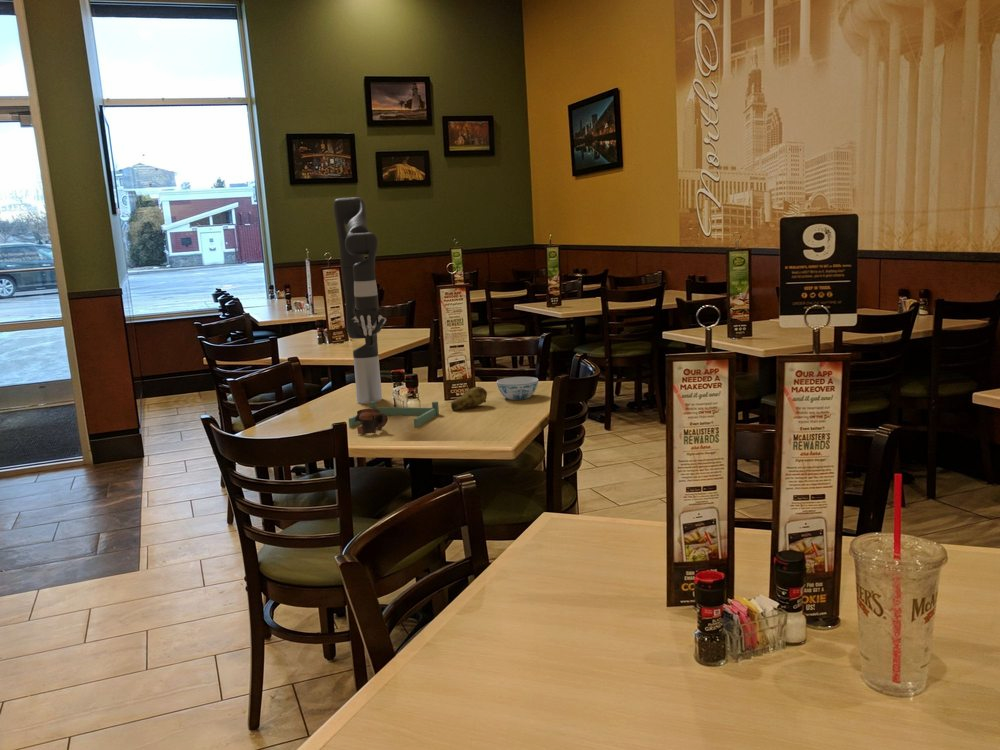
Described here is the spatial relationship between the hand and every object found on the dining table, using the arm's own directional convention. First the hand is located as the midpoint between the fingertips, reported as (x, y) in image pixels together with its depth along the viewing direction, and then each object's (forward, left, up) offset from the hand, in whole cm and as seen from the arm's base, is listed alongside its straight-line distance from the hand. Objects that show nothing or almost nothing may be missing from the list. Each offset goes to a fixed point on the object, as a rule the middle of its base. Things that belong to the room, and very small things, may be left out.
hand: (370, 346), depth 277 cm
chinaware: (-33, +41, -25) cm, 58 cm away
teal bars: (+2, +8, -25) cm, 26 cm away
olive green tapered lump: (-17, +28, -25) cm, 41 cm away
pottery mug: (+18, +7, -26) cm, 33 cm away
